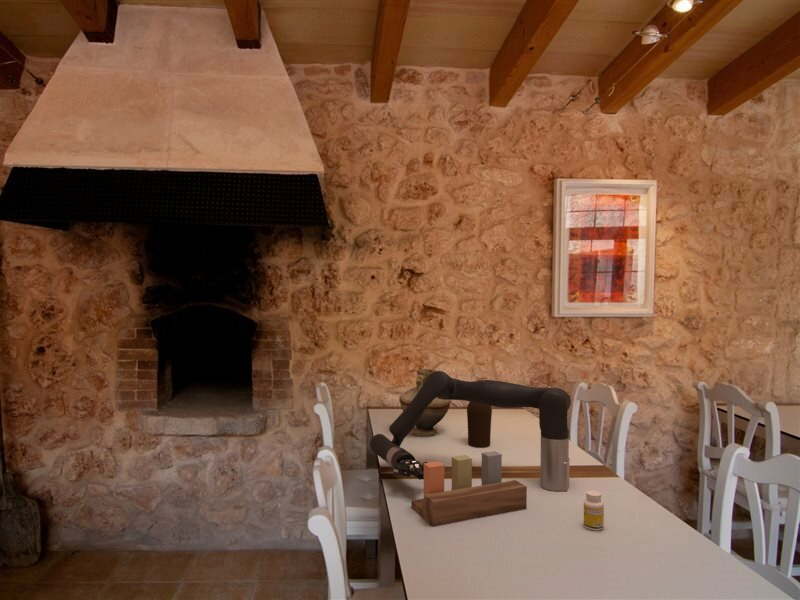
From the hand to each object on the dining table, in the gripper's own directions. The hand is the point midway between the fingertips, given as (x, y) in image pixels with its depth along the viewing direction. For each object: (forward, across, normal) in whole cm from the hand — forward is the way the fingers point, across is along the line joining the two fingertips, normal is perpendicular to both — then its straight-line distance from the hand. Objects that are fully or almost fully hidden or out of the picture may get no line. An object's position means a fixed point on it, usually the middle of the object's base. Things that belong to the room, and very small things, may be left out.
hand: (422, 476), depth 175 cm
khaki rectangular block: (+5, +11, +6) cm, 14 cm away
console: (+10, +11, +8) cm, 17 cm away
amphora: (-73, +36, +9) cm, 82 cm away
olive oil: (-48, +50, +8) cm, 70 cm away
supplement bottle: (+36, +37, +8) cm, 52 cm away
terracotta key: (+8, 0, +6) cm, 10 cm away
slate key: (+5, +22, +6) cm, 24 cm away
